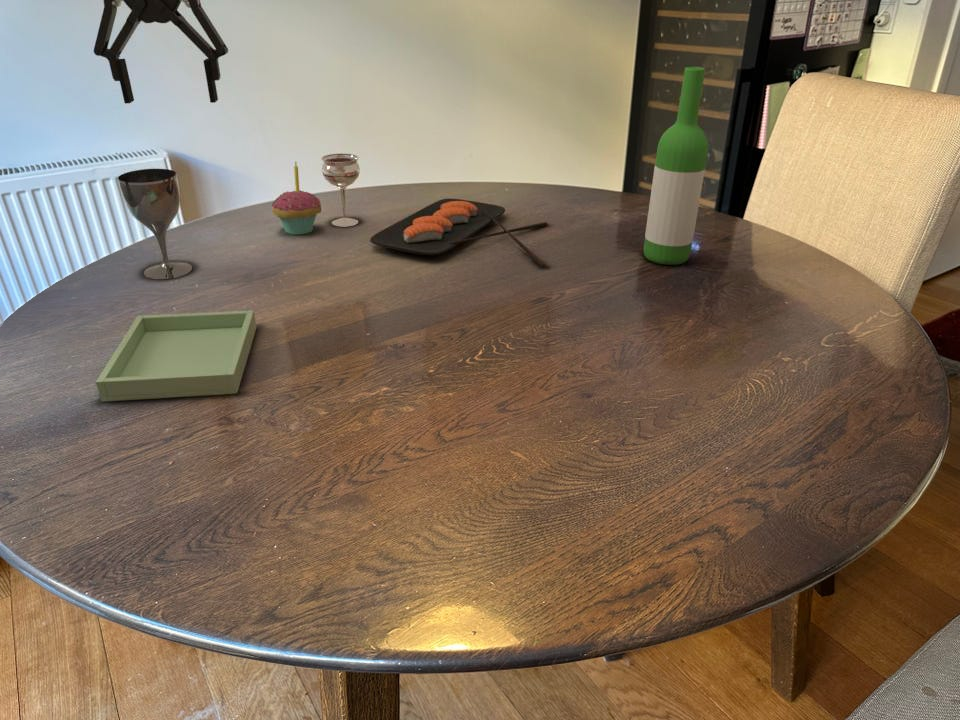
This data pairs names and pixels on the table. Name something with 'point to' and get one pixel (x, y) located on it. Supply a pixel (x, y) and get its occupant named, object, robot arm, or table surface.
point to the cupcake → (297, 209)
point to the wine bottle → (678, 179)
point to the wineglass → (341, 178)
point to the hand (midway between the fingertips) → (172, 101)
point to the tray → (179, 356)
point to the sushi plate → (445, 228)
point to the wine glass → (154, 211)
